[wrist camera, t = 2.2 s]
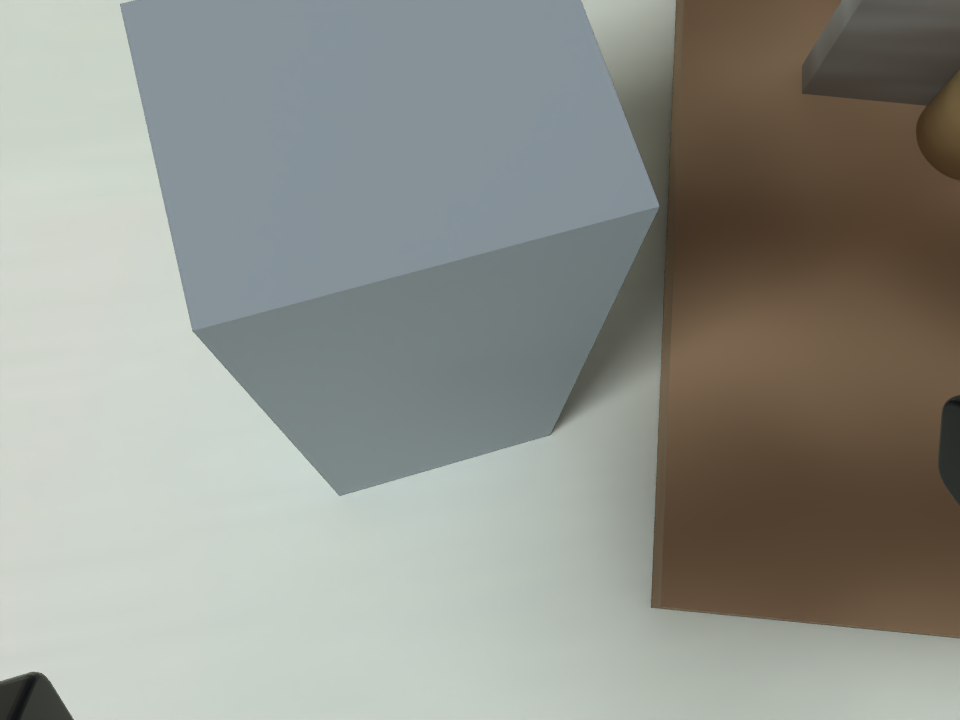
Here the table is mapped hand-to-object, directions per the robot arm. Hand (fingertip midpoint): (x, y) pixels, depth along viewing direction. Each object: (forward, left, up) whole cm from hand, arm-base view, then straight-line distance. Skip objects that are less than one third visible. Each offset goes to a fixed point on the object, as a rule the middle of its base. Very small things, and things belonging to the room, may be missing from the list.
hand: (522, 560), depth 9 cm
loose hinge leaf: (+5, -1, -12) cm, 13 cm away
